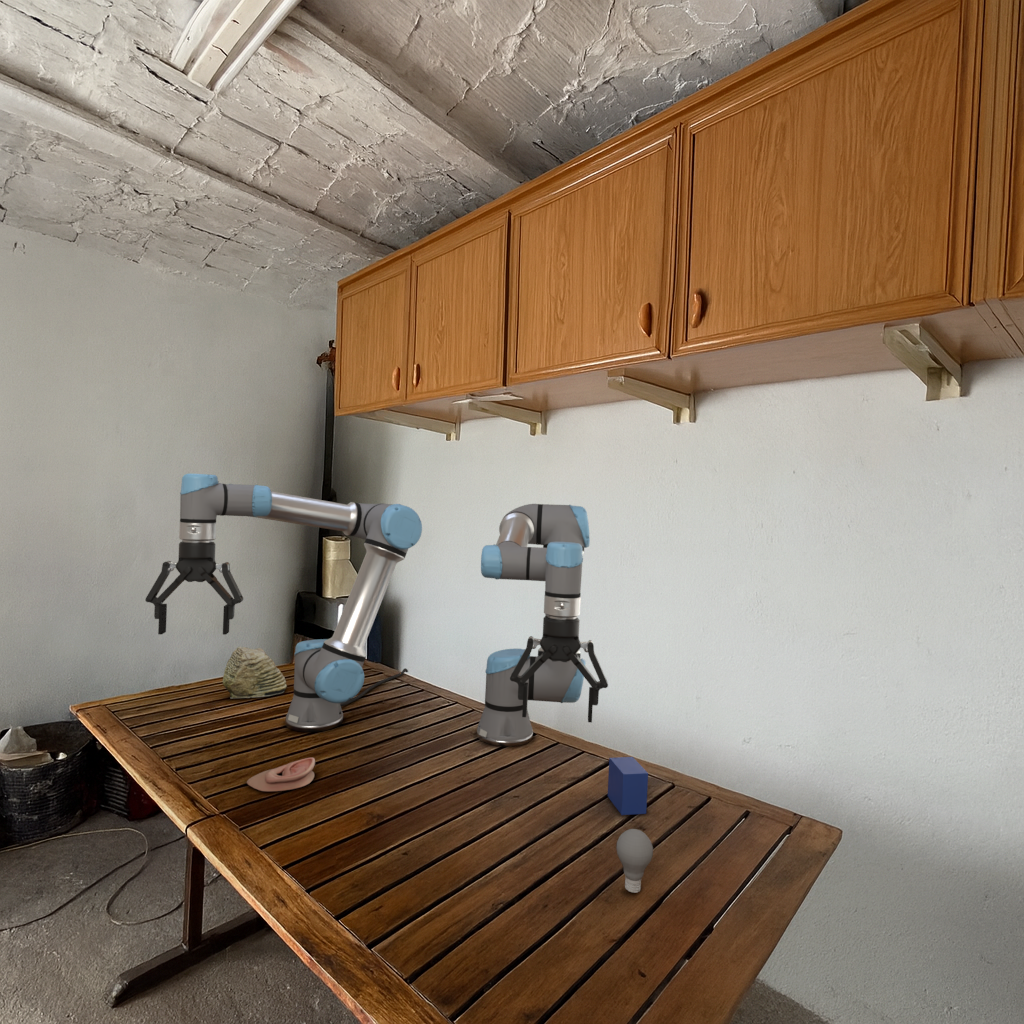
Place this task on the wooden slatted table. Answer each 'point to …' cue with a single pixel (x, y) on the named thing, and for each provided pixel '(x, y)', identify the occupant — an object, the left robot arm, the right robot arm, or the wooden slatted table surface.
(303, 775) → the anatomical model
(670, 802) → the wooden slatted table surface
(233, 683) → the fossil
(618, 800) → the block
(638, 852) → the light bulb
